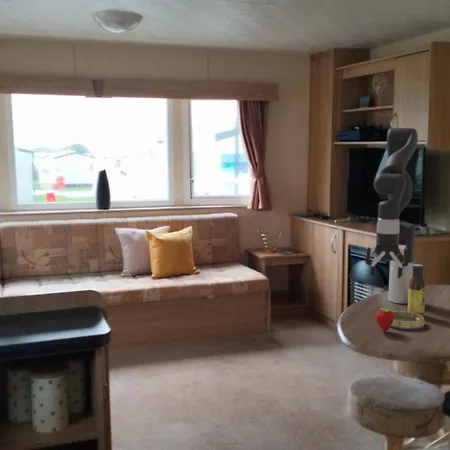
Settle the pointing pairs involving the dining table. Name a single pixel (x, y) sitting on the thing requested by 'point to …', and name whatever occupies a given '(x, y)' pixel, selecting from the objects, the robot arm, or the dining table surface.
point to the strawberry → (385, 318)
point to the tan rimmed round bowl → (407, 320)
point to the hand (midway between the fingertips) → (385, 277)
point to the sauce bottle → (416, 291)
